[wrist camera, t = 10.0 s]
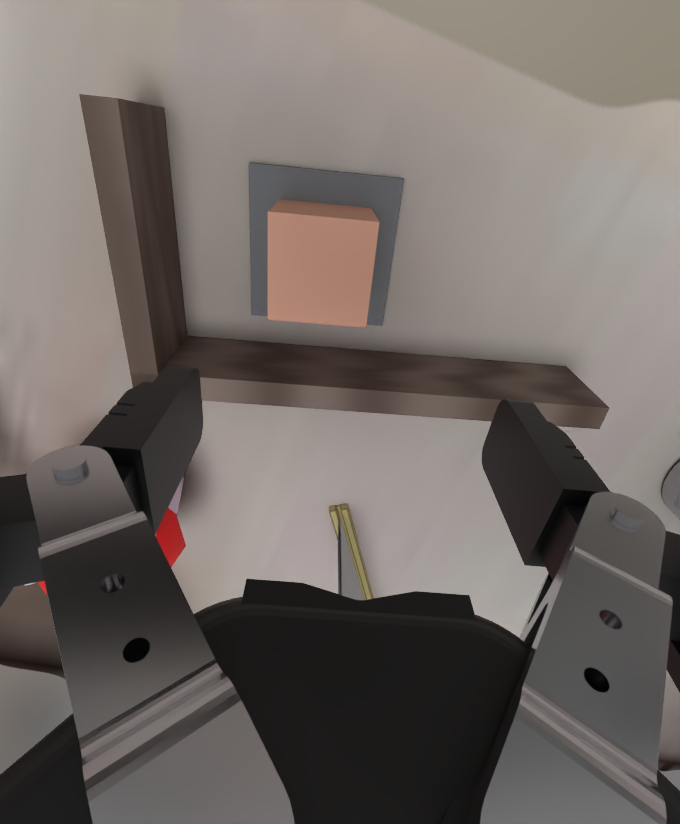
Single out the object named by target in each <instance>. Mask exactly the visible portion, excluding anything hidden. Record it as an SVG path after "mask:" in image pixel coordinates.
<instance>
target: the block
mask: <svg viewBox="0 0 680 824" xmlns="http://www.w3.org/2000/svg"><path fill="white" fill-rule="evenodd" d="M378 230H379V220H378V219H377V217H376V215H375V213H374V211H373V210H372V208H366V207H356V206H345V205H335V204H325V203H314V202H304V201H294V200H284V199H280V200H279V201H278V202H277V203H276V204H275V205H274V206H273V207H272V208H271V209H270V210H269V211H268V320H278V321H290V322H302V323H314V324H326V325H339V326H351V327H363V328H366V325H367V317H368V309H369V301H370V293H371V285H372V277H373V270H374V262H375V254H376V246H377V238H378Z"/></svg>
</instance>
